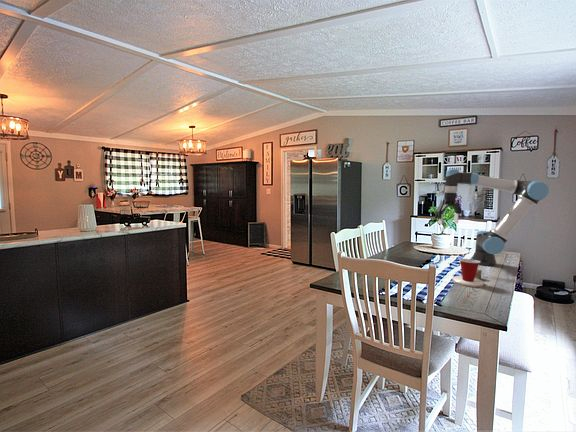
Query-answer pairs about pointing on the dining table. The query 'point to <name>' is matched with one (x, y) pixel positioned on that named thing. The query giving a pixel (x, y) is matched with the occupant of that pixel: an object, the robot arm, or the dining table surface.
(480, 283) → the disc
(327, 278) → the dining table surface
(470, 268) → the plastic cup
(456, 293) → the dining table surface
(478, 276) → the walnut block
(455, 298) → the dining table surface
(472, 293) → the dining table surface
